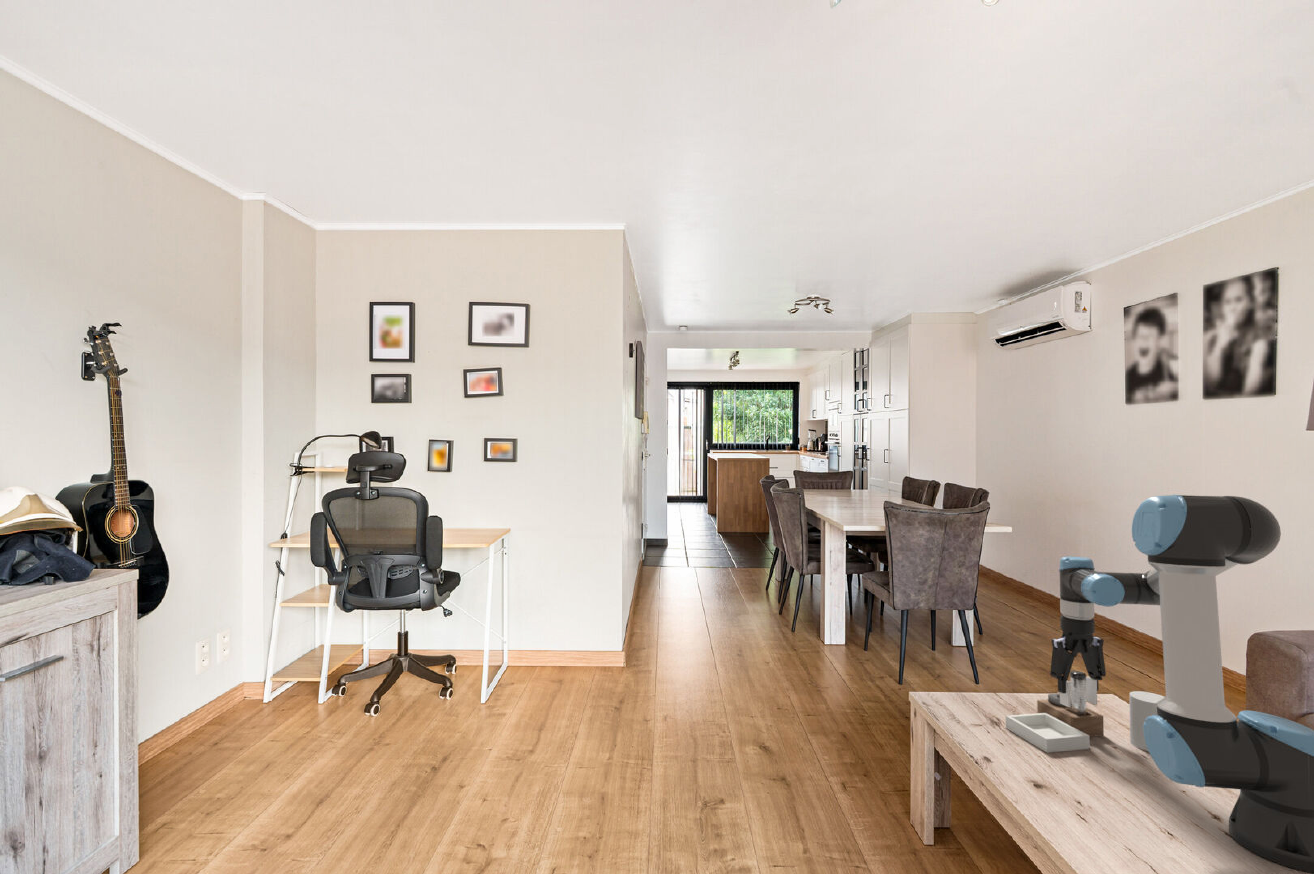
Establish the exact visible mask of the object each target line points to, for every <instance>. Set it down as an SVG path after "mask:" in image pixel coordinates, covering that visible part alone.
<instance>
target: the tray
mask: <svg viewBox="0 0 1314 874" xmlns="http://www.w3.org/2000/svg"><path fill="white" fill-rule="evenodd" d="M1005 729H1007V730H1009V731H1010V732H1011V733H1013V734H1015V735H1016V736H1018V737H1020V738H1022V739H1023V740H1025V741H1027V743H1028V742H1029V743H1030V744H1032V745H1033V746H1035V747H1037V748H1039V749H1040V750H1042V751H1043V752H1045V753H1057V752H1058V753H1059V752H1068V751H1079V750H1089V749H1090V746H1091V745H1090V736H1089V735H1087V734H1085V733H1083V732H1081V731H1079V730H1077V729H1076V728H1074V727H1072V726H1070V725H1068V724H1066V723H1064V722H1062V721H1060V720H1058V719H1056V718H1055V717H1053V716H1051V715H1049V714H1047V713H1024V714H1011V715H1005ZM1090 750H1091V749H1090Z"/></svg>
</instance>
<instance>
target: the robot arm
mask: <svg viewBox="0 0 1314 874" xmlns="http://www.w3.org/2000/svg"><path fill="white" fill-rule="evenodd" d="M1281 535H1282V533H1281V527H1280V524H1279V521H1278V519H1277V518H1276V516H1275V515H1274V513H1272V512H1271V510H1269V509H1268V508H1267V507H1266V506H1264V505H1263V504H1261V503H1259V502H1258V501H1254V500H1252V499H1250V498H1246V497H1242V496H1236V495H1235V496H1234V495H1224V496H1222V495H1185V494H1183V495H1182V494H1180V495H1179V494H1171V495H1168V494H1167V495H1155V496H1150V497H1149V498H1146V499H1145V500H1143V501H1142V502H1141V503H1140V504H1139V506H1138V507H1137V509H1136V510H1135V512H1134V515H1133V517H1132V523H1131V538H1132V540H1133V542H1135V544H1134V546H1135V548H1136V549H1137V550H1138V551H1139V552H1141V553H1142V554H1144V555H1146V556H1147V563H1148V565H1150V566H1151V567H1152V569H1150V570H1148V571H1146V572H1114V571H1113V572H1111V571H1109V572H1107V571H1106V572H1105V571H1098V570H1095V565H1094V561H1093V560H1092V558H1089V557H1083V556H1068V555H1067V556H1063V557H1061V558H1060V559H1059V560H1060V561H1059V569H1058V572H1059V595H1060V597H1059V599H1060V600H1059V603H1060V604H1059V606H1060V607H1059V608H1060V609H1059V610H1060V611H1059V612H1060V614H1061V615H1060V616H1059V617H1060V620H1059V621H1060V622H1059V623H1060V629H1061V631H1062V635H1061V638H1058V639H1056V638H1052V639H1051V645H1052V654H1051V662H1050V671H1049V672H1050V673H1049V675H1050V676H1051V677H1052V678H1055V679H1056V680H1057V692H1059V693H1060V704H1062V705H1065V706H1067V707H1071V687H1070V680H1069V676H1070V671H1072V670H1071V669H1072V666H1073V663H1074V660H1075V658H1077V656H1078V654H1080V655H1081V658H1082V661H1083V663H1084V666H1085V668H1086V672H1087V676H1086V703H1089V704H1091V705H1093V706H1098V691H1099V689H1100V688H1099V685H1100V684H1099V681H1102V680H1103V677H1106V675H1107V672H1106V664H1105V657H1104V656H1105V655H1104V649H1103V647H1104V643H1105V642H1104V639H1103V638H1100V637H1097V636H1094V635H1093V634H1095V633H1096V631H1095V630H1096V629H1095V628H1096V627H1095V619H1094V618H1095V605H1098V606H1103V607H1108V608H1109V607H1114V606H1117V605H1118V604H1120V605H1143V606H1145V605H1146V606H1159V607H1160V620H1161V623H1160V625H1161V637H1162V639H1161V640H1162V654H1163V670H1164V687H1165V696H1164V698H1163V699H1161V700H1160V701H1158V702H1157V715H1152V716H1149V717H1147V718H1146V719H1145V722H1144V725H1143V732H1144V738H1145V742H1146V745H1147V748H1148V751H1147V752H1148V753H1149V755H1150V757H1151V759H1152V761H1153V762H1154V764H1155V765H1156V767H1157V768H1158V769H1159V771H1160V772H1161V773H1162V774H1163V775H1164V776H1165V777H1167V778H1168V779H1169V780H1170V781H1173V782H1174V783H1177V784H1180V785H1187V786H1195V787H1196V788H1204V787H1205V788H1207V787H1208V788H1217V789H1218V788H1219V789H1229V790H1232V789H1233V790H1239V791H1240V793H1239V796H1238V798H1237V799H1236V801H1235V804H1234V806H1233V808H1232V810H1231V812H1230V815H1229V817H1228V833H1229V835H1230V836H1231V838H1232V839H1233V840H1234V841H1236V842H1237V843H1238V844H1239V845H1241V847H1243V848H1245V849H1246V850H1248V851H1250V852H1251V853H1254V854H1255V855H1258V856H1260V857H1261V858H1264V859H1266V860H1268V861H1271V862H1274V863H1276V864H1279V865H1281V866H1285V867H1288V868H1291V869H1295V870H1299V871H1302V872H1308V873H1312V874H1313V873H1314V729H1312V728H1310V727H1308V726H1306V725H1304V724H1302V723H1299V722H1296V721H1293V720H1290V719H1287V718H1285V717H1282V716H1278V715H1274V714H1270V713H1267V712H1261V711H1255V710H1248V709H1247V710H1245V709H1244V710H1241V711H1239V712H1238V715H1237V716H1236V715H1235V714H1234V713H1233V712H1232V711H1231V710H1230V709H1229V708H1228V707H1227V706H1226V702H1225V690H1224V675H1223V674H1224V673H1223V661H1222V647H1221V633H1220V632H1221V631H1220V622H1219V621H1220V619H1219V617H1220V615H1219V606H1218V605H1219V604H1218V592H1217V576H1219V575H1220V574H1222V573H1225V572H1226V571H1228V570H1230V569H1232V568H1233V567H1235V566H1238V565H1250V564H1253V563H1256V562H1258V561H1259V560H1261V559H1264V558H1266V557H1267V556H1268V555H1270V554H1271V553H1272V552H1273V551H1274V550H1275V549H1276V548H1277V546H1278V545H1279V542H1280V540H1281Z"/></svg>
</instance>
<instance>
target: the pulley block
mask: <svg viewBox="0 0 1314 874" xmlns="http://www.w3.org/2000/svg"><path fill="white" fill-rule="evenodd" d="M1047 697H1048V698H1047V699H1037V702H1036V703H1037V705H1036V706H1037V707H1036V708H1037V710H1036V711H1037V713H1047V714H1049V715H1051V716H1053V717H1055V718H1056V719H1058V720H1060V721H1062V722H1064V723H1066V724H1068V725H1070V726H1072V727H1074V728H1076V729H1077V730H1079V731H1081V732H1083V733H1085V734H1087V735H1089V737H1098V736H1101V737H1102V736H1104V733H1105V732H1104V727H1105V726H1104V725H1105V724H1104V715H1102V714H1100V713H1099V712H1096V711H1094V710H1093V709H1090V708H1087V707H1086V716H1077V715H1075V714H1073V713H1071V707H1067V706H1065V705H1062V704H1060V692H1059V691H1057V692H1056V693H1054V692H1053V693H1049V694H1047Z"/></svg>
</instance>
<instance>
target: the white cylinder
mask: <svg viewBox="0 0 1314 874" xmlns="http://www.w3.org/2000/svg"><path fill="white" fill-rule="evenodd" d="M1128 694H1129V695H1128V696H1129V697H1128V698H1129V699H1128V700H1129V702H1128V703H1129V742H1130V744H1131V745H1132V746H1133V747H1136V748H1137V749H1140V750H1141V751H1146V752H1149V751H1148V748H1147V745H1146V742H1145V738H1144V732H1143V725H1144V722H1145V719H1146V718H1147V717H1149V716H1152V715H1157V702H1158V701H1160V700H1161V699H1163V698H1164V697H1165V696H1163V695H1161V694H1157V693H1153V692H1149V691H1142V690H1141V691H1139V690H1137V691H1130V692H1129V693H1128Z"/></svg>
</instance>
